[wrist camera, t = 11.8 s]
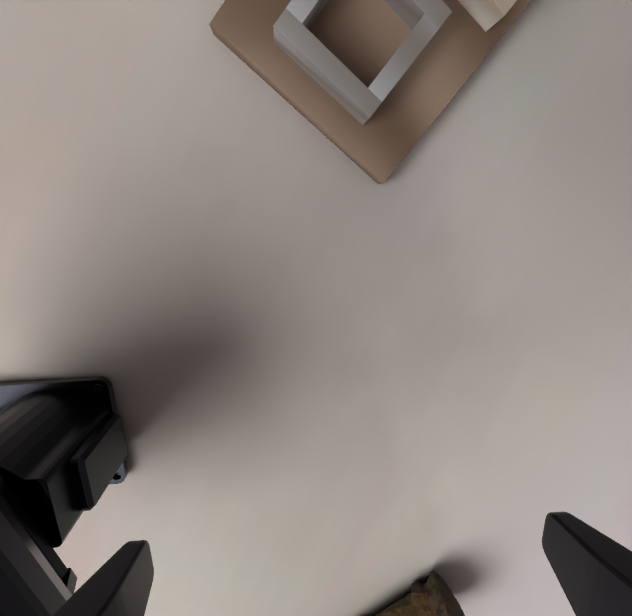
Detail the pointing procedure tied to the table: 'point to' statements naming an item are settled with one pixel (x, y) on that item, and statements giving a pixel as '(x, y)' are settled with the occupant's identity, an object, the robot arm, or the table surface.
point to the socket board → (366, 63)
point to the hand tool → (426, 600)
